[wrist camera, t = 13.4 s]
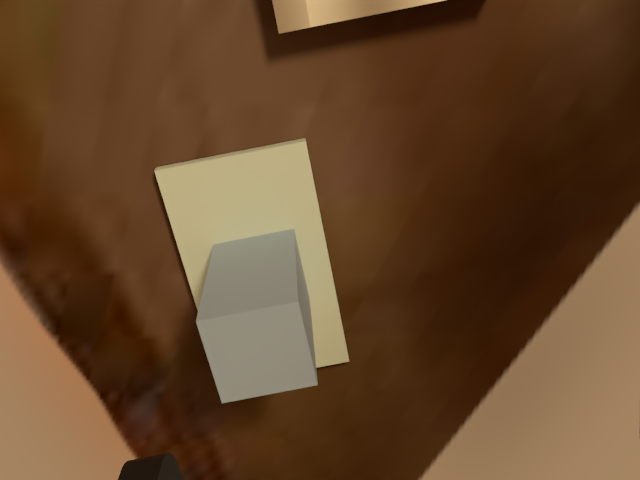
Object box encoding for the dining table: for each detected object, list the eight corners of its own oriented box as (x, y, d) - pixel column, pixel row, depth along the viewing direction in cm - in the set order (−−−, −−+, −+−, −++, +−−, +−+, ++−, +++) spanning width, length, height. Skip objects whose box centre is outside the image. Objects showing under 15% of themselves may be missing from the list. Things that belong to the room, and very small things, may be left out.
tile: (305, 137, 32) (305, 141, 32) (348, 355, 38) (349, 361, 37) (156, 167, 32) (154, 170, 32) (221, 379, 38) (220, 385, 38)
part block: (294, 228, 34) (298, 301, 26) (309, 298, 36) (317, 384, 28) (213, 244, 34) (195, 321, 26) (233, 313, 36) (221, 403, 28)
